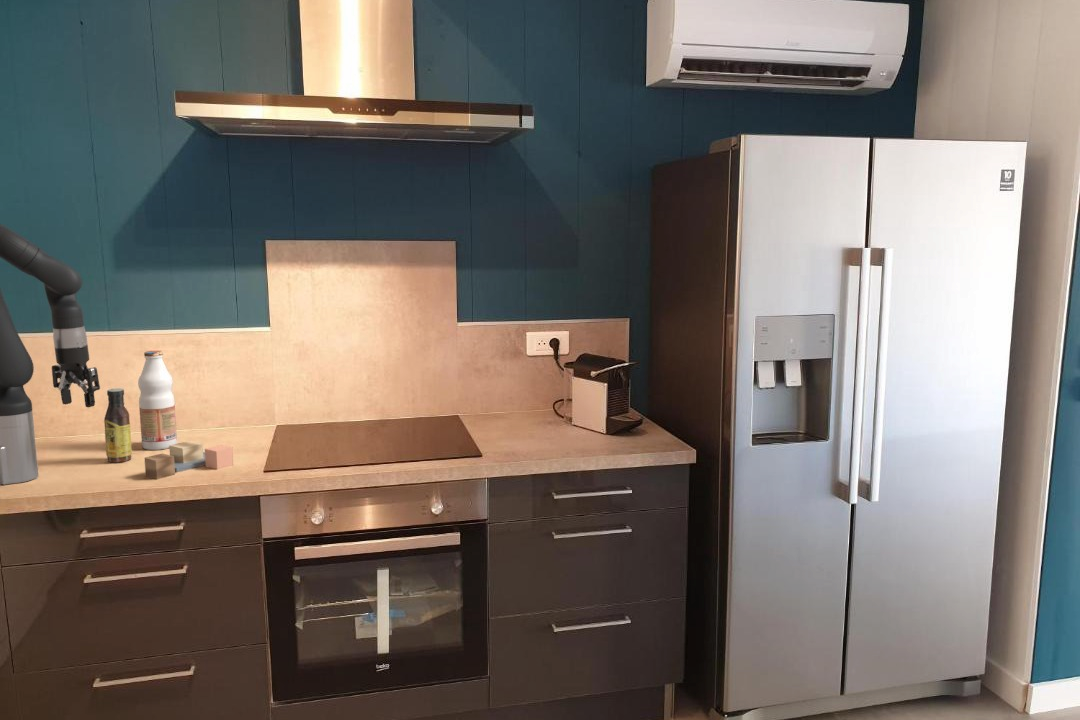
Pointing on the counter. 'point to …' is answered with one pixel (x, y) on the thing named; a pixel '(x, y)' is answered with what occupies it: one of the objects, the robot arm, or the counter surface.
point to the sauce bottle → (117, 428)
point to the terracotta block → (219, 457)
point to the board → (189, 464)
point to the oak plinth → (186, 451)
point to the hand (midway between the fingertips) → (78, 405)
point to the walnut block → (159, 466)
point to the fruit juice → (156, 404)
